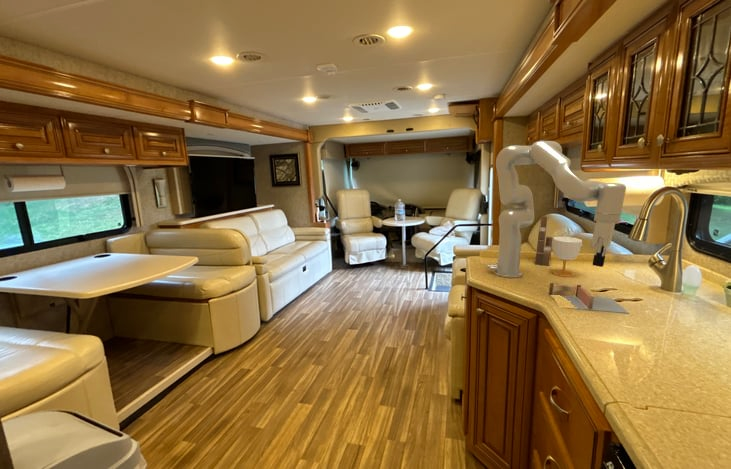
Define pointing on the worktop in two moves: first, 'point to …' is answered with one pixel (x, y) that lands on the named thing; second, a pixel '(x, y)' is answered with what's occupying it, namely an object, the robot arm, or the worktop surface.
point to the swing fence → (585, 297)
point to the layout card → (597, 304)
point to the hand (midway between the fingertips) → (597, 265)
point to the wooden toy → (543, 245)
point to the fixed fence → (563, 290)
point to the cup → (566, 252)
